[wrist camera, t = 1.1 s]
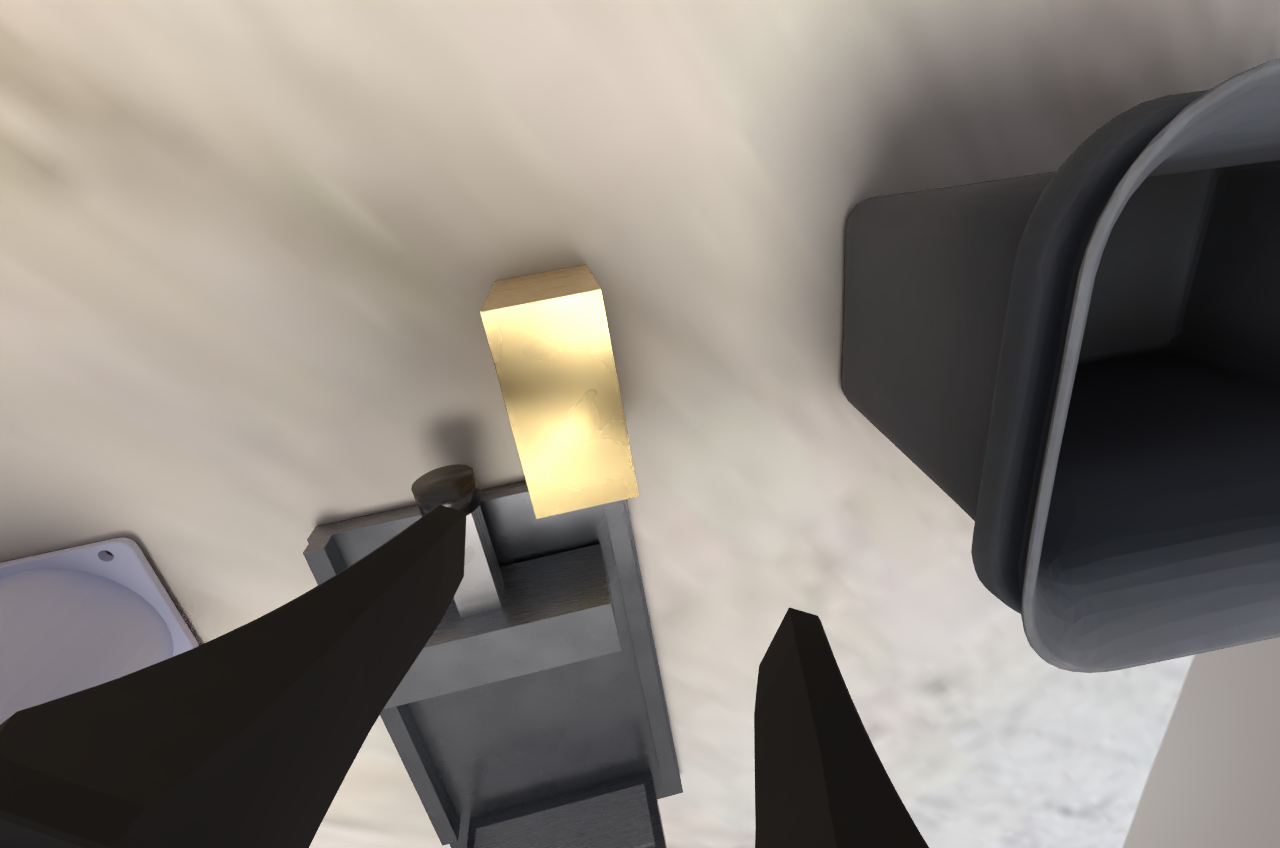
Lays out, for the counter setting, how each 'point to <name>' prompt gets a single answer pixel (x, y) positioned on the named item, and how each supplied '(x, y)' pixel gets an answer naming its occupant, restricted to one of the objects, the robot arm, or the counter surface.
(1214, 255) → the storage bin
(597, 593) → the free jaw
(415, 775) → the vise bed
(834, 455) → the counter surface
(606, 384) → the brass block
